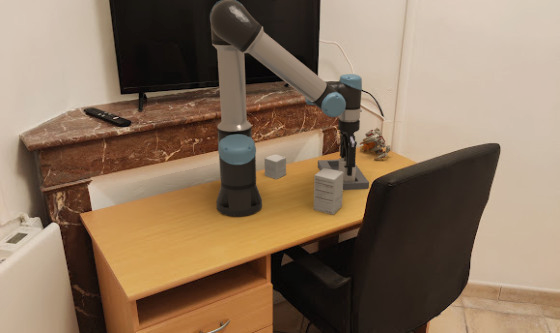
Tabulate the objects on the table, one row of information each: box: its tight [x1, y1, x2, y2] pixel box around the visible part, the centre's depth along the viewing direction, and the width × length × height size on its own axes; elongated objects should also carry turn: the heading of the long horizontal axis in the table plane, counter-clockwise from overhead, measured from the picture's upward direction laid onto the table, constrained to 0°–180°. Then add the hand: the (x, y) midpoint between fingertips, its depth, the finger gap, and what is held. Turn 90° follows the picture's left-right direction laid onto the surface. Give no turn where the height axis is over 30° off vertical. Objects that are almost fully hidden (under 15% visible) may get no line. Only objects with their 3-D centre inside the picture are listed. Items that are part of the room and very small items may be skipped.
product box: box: [264, 153, 287, 180], centre depth 180 cm, size 6×6×7 cm
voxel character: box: [359, 127, 391, 161], centre depth 198 cm, size 11×10×15 cm
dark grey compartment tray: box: [317, 158, 370, 191], centre depth 179 cm, size 14×24×2 cm, turn 7°
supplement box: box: [313, 168, 344, 215], centre depth 153 cm, size 7×7×13 cm
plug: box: [338, 156, 357, 182], centre depth 172 cm, size 5×5×9 cm
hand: (346, 179), depth 173 cm, fingers closed on plug, 5 cm apart
